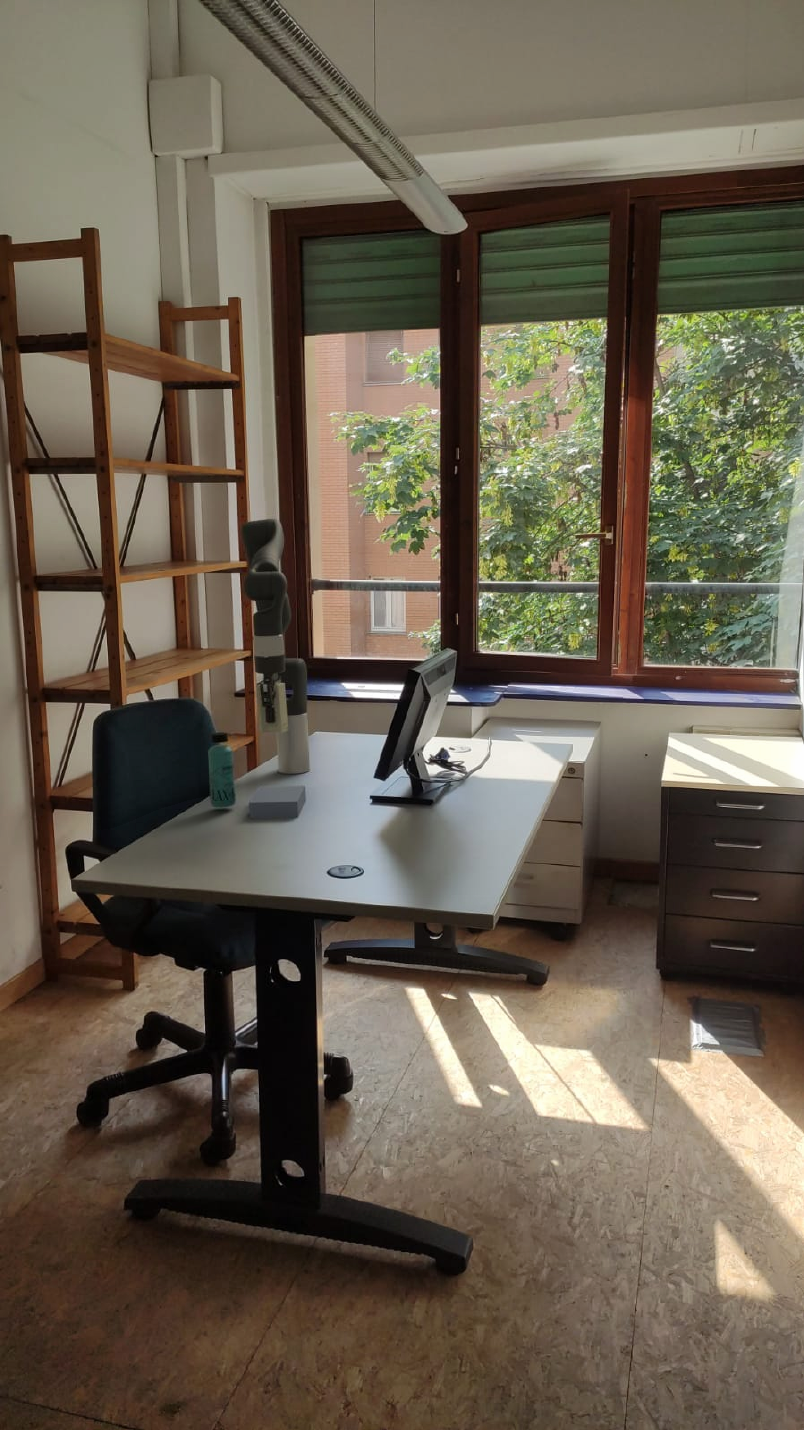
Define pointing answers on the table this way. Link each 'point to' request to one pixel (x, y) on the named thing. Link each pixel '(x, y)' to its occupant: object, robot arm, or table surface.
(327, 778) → the table surface
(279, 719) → the skincare box
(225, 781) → the beverage bottle
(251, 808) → the flat grey slab
